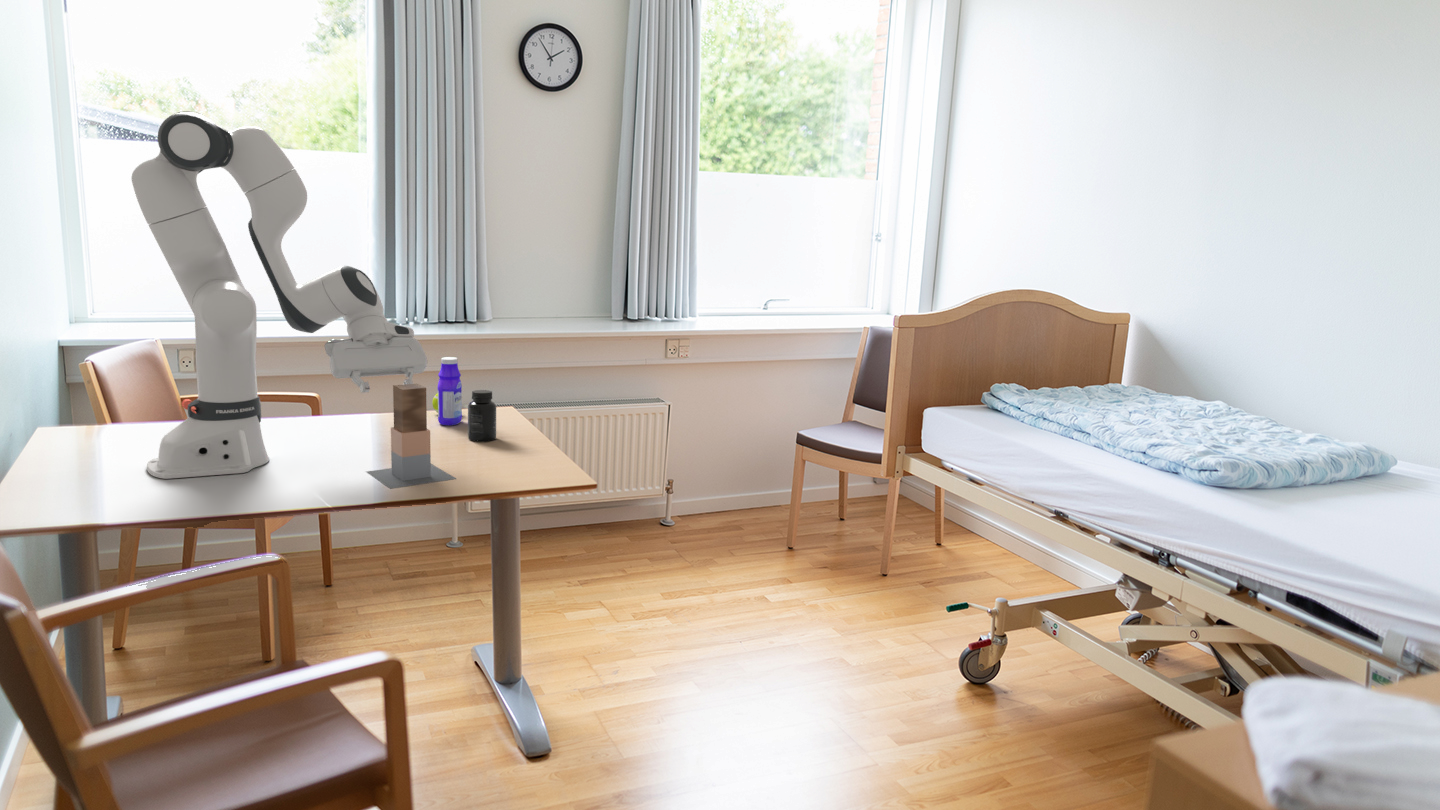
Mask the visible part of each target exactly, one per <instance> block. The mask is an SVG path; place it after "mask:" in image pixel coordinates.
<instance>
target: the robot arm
mask: <svg viewBox="0 0 1440 810" xmlns="http://www.w3.org/2000/svg"><path fill="white" fill-rule="evenodd" d="M157 144H158V147H159V153H158V155H157V156H156V157H153V158H152V159H151V158H150V159H148V160H146V161H144V162H142V163H140V164H138V166H137V167H135V168H134V170H133V171H132V174H131V183H132V186H133V191H134V194H135V196H136V199H137V202H138V205H139V208H140V210H141V212H142V216H144V220H145V221H146V223H147V224H148V227H149V229H150V231H151V233H152V234H153V236H154V240H155V241H156V243H157V245H158V246H159V249H160V251H161V253H162V254H163V256H164V258H165V260H166V262H167V264H168V266H169V268H170V270H171V272H172V274H173V276H174V278H175V280H176V282H177V283H178V286H179V287H180V289H181V291H182V294H183V295H184V297H185V300H186V301H187V304H188V305H189V307H190V309H191V311H192V313H193V315H194V329H195V332H194V333H195V334H194V335H195V368H196V369H195V370H196V383H197V398H195V399H194V400H193V401H192V400H191V399H189V398H186V399H183V400H182V402H181V407H183V408H184V410H187V416H188V417H187V418H186V419H185V420H184V421H182V422H180V423H179V424H178V425H176V427H174V428H172V430H170V431H168V432H167V433H166V434H164V436H163V437H162V439H161V441H160V443H159V448H158V457H157V458H153V459H151V460H149V461H148V462H147V464H146V470H147V472H148V473H149V475H151V476H152V477H156V478H157V479H158V478H160V479H163V480H164V479H166V480H167V479H178V478H179V479H180V478H193V477H207V476H218V475H230V474H231V475H232V474H243V473H244V474H245V473H247V472H250V471H251V470H252V469H255V468H258V467H261V466H263V465H265V464H267V463H268V462H269V461H270V457H269V456H268V455H269V454H268V453H267V450H266V447H265V442H264V438H263V434H262V429H261V422H262V404H261V397H260V396H259V395H258V381H257V380H258V379H257V363H256V362H257V360H256V359H257V358H256V357H257V304H256V301H255V299H254V298H253V296H252V294H251V293H250V292H249V290H247V289H246V288H245V286H244V284H243V282H242V280H241V278H240V275H239V274H238V271H237V269H236V267H235V265H234V261H233V259H232V257H231V255H230V253H229V250H228V248H227V245H226V244H225V241H224V238H222V237H223V236H222V235H221V233H220V232H219V231H220V230H219V229H218V227H217V224H216V223H215V221H214V219H213V217H212V216H213V215H212V214H211V212H210V210H209V208H208V206H207V204H206V202H205V200H204V198H203V197H202V194H201V192H200V189H199V187H198V183H197V177H198V175H199V174H200V173H201V172H203V171H204V170H211V169H217V168H221V169H224V170H225V171H227V172H228V173H229V174H230V175H231V176H232V178H233V179H234V180H235V181H236V183H237V185H238V186H239V188H240V190H241V191H242V192H243V193H244V195H245V197H246V199H247V201H248V204H249V207H250V212H251V217H250V219H249V221H248V223H247V226H248V232H249V235H250V238H251V241H252V243H253V246H254V248H255V250H256V254H257V255H258V257H259V260H260V262H261V264H262V266H263V269H264V270H265V273H266V275H267V277H268V280H269V281H270V284H271V287H272V288H273V290H274V293H275V295H276V298H277V300H278V303H279V307H280V309H281V312H282V315H283V317H284V319H285V321H286V322H287V324H288V325H289V327H291V328H292V329H293V330H296V331H299V332H302V333H307V334H314V333H316V332H317V331H319V330H320V329H322V328H323V327H325V326H327V325H328V324H330V323H333V322H334V321H337V320H338V319H340V318H343V320H344V322H346V331H347V334H348V338H342V339H340V338H339V339H335V338H333V339H329V341H327V342H326V343H324V351H325V353H326V356H328V357H329V366H330V372H331V375H332V376H333V377H334V378H336V379H351V382H352V383H353V384H355V385H356V386H357V387H359V390H360V393H362V394H363V393H369V391H370V389H371V387H370V385H369V381H364V380H363V379H362V378H366V377H367V378H368V377H381V376H382V377H383V376H386V377H387V376H400V375H404V376H405V379H404V381H403V383H402V385H405V384H414V382H413V377H414V374H415V375H417V374H422V373H424V372H425V370H426V368H427V365H428V359H427V356H426V352H425V350H424V348H423V346H422V345H421V343H420V342H419V340H417V339H416V338H414V335H415V332H414V329H413V328H411V327H408V326H404V325H400V324H397V323H396V324H395V323H392V322H389V321H388V319H387V317H385V315H384V307H383V306H384V305H383V303H382V300H381V298H380V296H379V294H378V291H377V289H376V287H375V285H374V284H373V281H372V280H371V279H370V278H369V276H368V275H367V274H366V273H365V272H364V271H362V270H360V269H359V268H355V267H353V266H349V265H342V266H337V267H336V268H334V269H332V270H329V271H327V272H325V273H323V274H322V275H320V276H317V277H315V278H314V279H312V280H309V281H308V282H305V283H302V284H299V283H297V282H296V279H295V278H294V275H293V272H292V271H291V268H290V266H289V264H288V262H287V260H286V256H285V255H284V253H283V250H282V241H283V239H284V236H285V234H286V233H287V232H288V231H289V230H290V228H291V227H292V226H293V225H294V224H295V223H296V221H298V219H299V218H300V216H301V215H302V214H303V212H304V210H305V209H306V205H307V202H308V191H307V189H306V186H305V184H304V182H303V180H302V178H301V176H300V174H299V173H298V172H297V170H296V169H295V167H294V165H293V163H292V162H291V161H290V158H288V156H287V155H286V154H285V152H284V151H283V150H282V149H281V147H280V145H278V144H277V143H276V141H275V139H273V138H272V137H271V136H270V135H269V133H268V132H267V131H266V130H264V129H262V128H261V127H258V126H242V127H238V128H236V129H234V130H229V131H228V130H227V129H225V128H223V127H221V126H220V125H219V124H216V123H215V122H214V121H213V120H212V119H210V118H209V117H208V116H206V115H203V114H201V113H199V112H195V111H190V110H187V111H179V112H175V113H173V114H171V115H169V116H168V117H166V118H165V119H164V120H163V122H162V123H161V124H160V125H159V128H158V131H157Z"/></svg>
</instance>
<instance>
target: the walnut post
mask: <svg viewBox="0 0 1440 810" xmlns="http://www.w3.org/2000/svg"><path fill="white" fill-rule="evenodd" d="M392 396H393V397H392V400H393V401H392V403H393V405H392V406H393V427H394V428H395V429H397V430H399V431H401V432H402V433H407V432H416V431H425V430H427V429H428V427H427V425H428V423H427V421H428V420H427V415H428V413H427V410H428V409H427V387H425V386H423V385H421V384H419V383H413V384H405V385H403V384H394V385H392Z"/></svg>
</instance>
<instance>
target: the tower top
mask: <svg viewBox="0 0 1440 810" xmlns="http://www.w3.org/2000/svg"><path fill="white" fill-rule="evenodd" d="M391 451H393V452H394V453H396V454H397V455H399V456H401V457H409V456H416V455H424V454H430V455H431V430H430V429H429V428H427V430H425V431H416V432H407V433H402V432H401V431H399V430H397V429H395V428H394V426H393V427H392V426H391V427H390V452H391Z"/></svg>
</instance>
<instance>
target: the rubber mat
mask: <svg viewBox="0 0 1440 810" xmlns="http://www.w3.org/2000/svg"><path fill="white" fill-rule="evenodd" d="M366 473H367V474H368V475H370V476H371V477H373V478H374V479H376V481H379V482H380V483H381V484H383V485H384V486H385V487H386V488H388V489H390V490H391V489H400V488H404V487H412V486H419V485H426V484H432V483H433V484H434V483H439V482H446V481H453V480H457V477H454V476H453V475H451V474H450V473H448V472H446V471H445V470H443V469H441V468H439V467H438V466H436V465H434V463H433V464H432V463H431V477H425V478H418V479H412V480H405V481H402V480H401V479H399V478H398V477H396V476H395V475H393V474H392V467H390V468H383V469H375V470H368V471H366Z"/></svg>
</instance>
